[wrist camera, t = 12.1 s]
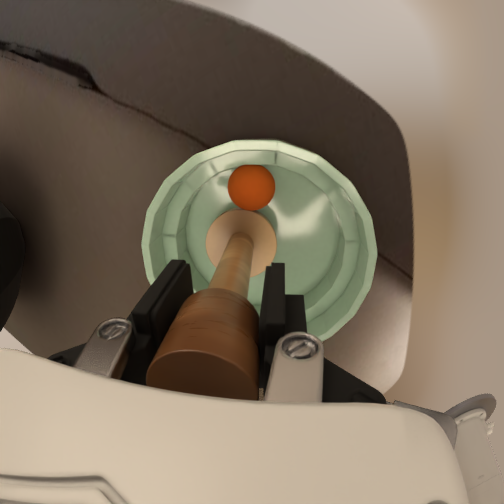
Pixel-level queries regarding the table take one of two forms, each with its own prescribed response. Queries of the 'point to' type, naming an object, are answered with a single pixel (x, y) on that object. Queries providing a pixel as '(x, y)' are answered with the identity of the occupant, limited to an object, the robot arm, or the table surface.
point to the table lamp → (9, 262)
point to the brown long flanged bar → (220, 316)
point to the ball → (251, 187)
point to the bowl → (283, 220)
